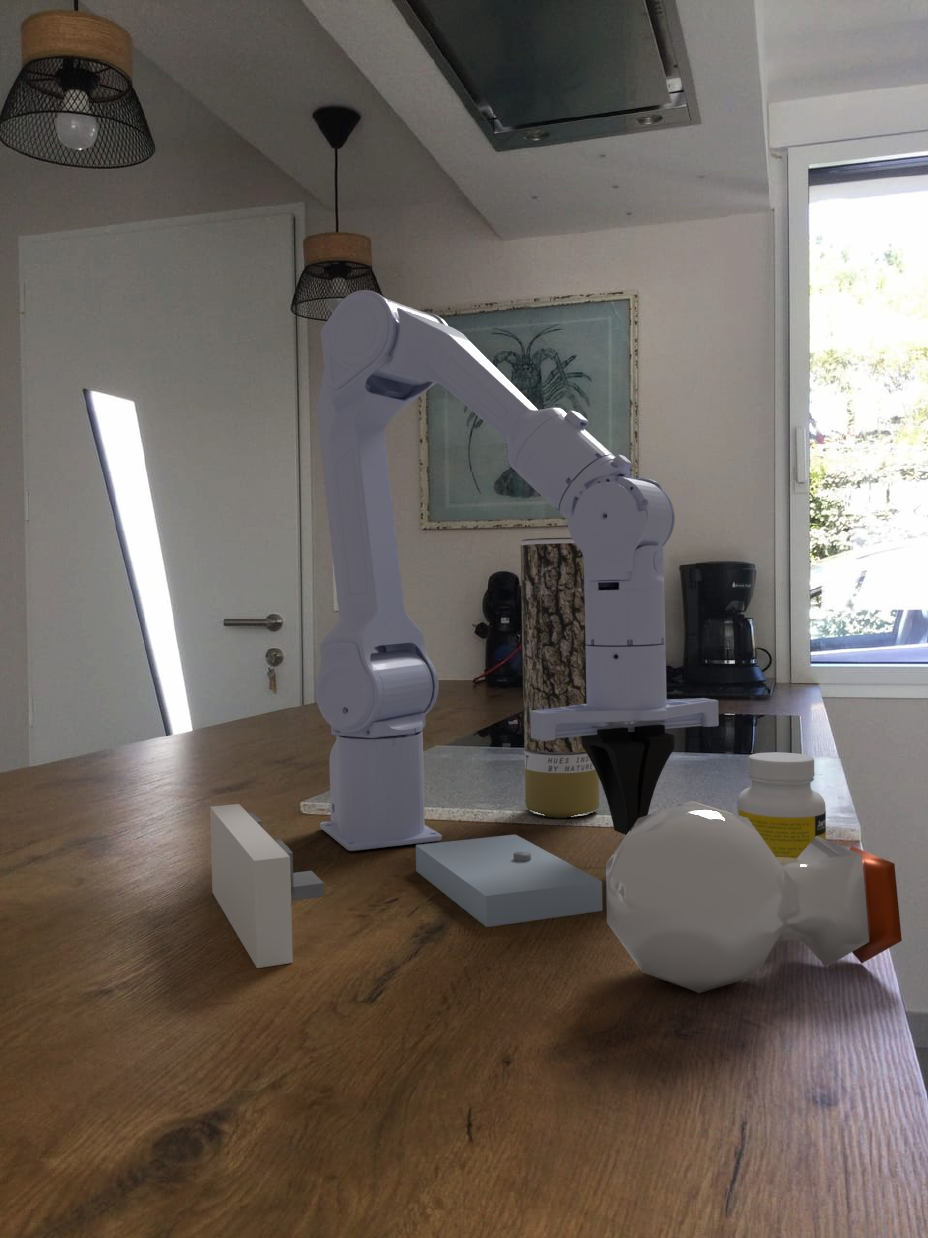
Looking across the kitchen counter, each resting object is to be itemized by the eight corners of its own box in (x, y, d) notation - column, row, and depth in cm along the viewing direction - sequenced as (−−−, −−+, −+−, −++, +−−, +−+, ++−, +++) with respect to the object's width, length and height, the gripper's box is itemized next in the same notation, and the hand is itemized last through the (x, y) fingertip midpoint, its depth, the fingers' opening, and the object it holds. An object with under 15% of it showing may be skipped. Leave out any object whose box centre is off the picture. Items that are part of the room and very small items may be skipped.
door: (416, 877, 78) (415, 839, 78) (515, 865, 81) (515, 829, 81) (486, 935, 65) (485, 889, 65) (602, 918, 68) (602, 875, 68)
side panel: (212, 892, 73) (210, 806, 73) (275, 884, 75) (273, 800, 75) (257, 968, 58) (254, 860, 58) (334, 956, 60) (331, 851, 60)
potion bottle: (587, 1010, 55) (842, 1012, 59) (657, 952, 48) (946, 959, 51) (568, 843, 61) (803, 854, 64) (629, 766, 53) (892, 784, 56)
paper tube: (612, 808, 98) (607, 538, 97) (579, 823, 92) (574, 536, 92) (547, 801, 102) (542, 541, 101) (511, 815, 96) (506, 539, 95)
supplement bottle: (832, 926, 64) (831, 764, 63) (739, 922, 65) (738, 763, 65) (820, 899, 69) (819, 750, 69) (735, 896, 70) (733, 749, 70)
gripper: (561, 651, 70) (565, 856, 70) (743, 642, 75) (746, 832, 75) (515, 647, 76) (520, 834, 77) (686, 638, 82) (689, 813, 82)
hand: (629, 832), depth 76 cm, fingers closed
